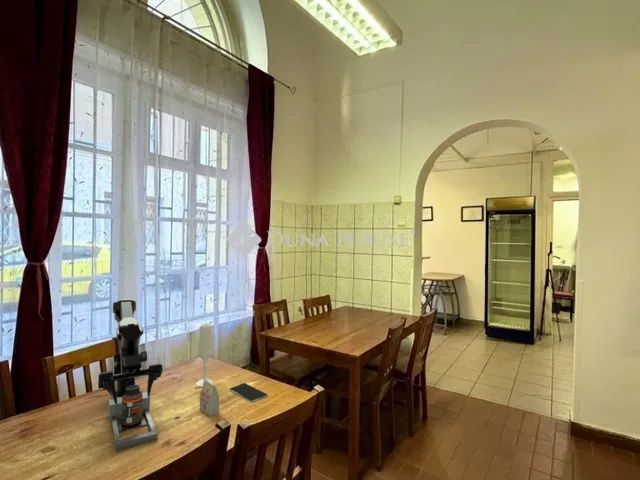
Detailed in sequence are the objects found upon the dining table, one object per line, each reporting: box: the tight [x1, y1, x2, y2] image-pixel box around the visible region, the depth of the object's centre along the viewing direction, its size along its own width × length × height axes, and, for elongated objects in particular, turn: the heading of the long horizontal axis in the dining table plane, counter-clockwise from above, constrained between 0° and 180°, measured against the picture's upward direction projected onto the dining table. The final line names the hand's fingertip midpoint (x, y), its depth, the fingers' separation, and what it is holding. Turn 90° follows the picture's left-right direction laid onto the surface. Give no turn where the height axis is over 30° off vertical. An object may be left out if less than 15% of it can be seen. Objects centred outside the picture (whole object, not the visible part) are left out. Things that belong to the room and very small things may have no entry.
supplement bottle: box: [120, 384, 143, 426], centre depth 114 cm, size 6×6×11 cm
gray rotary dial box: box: [108, 391, 151, 422], centre depth 121 cm, size 5×12×6 cm, turn 123°
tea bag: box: [199, 380, 220, 417], centre depth 123 cm, size 4×7×10 cm, turn 45°
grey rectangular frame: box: [111, 408, 159, 452], centre depth 110 cm, size 20×11×2 cm, turn 34°
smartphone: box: [229, 382, 268, 403], centre depth 138 cm, size 8×1×15 cm
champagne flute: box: [195, 323, 214, 387], centre depth 147 cm, size 7×7×24 cm
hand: (132, 400), depth 113 cm, fingers open, 9 cm apart
